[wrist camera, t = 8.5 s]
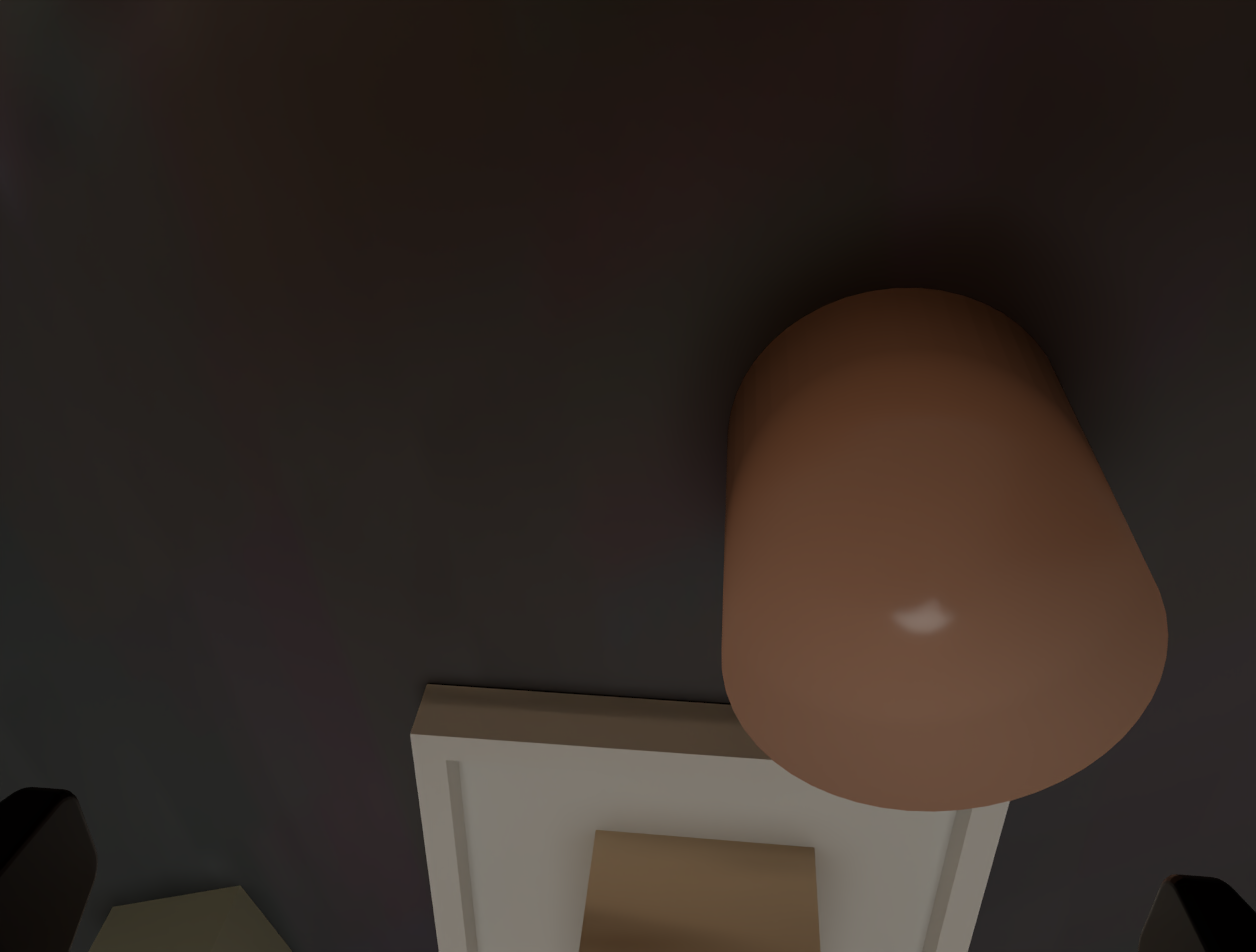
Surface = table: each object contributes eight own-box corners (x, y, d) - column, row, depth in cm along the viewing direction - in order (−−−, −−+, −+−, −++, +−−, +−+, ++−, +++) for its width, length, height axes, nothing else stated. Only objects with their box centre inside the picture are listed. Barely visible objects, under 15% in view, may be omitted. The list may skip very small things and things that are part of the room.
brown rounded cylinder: (1099, 295, 19) (1225, 498, 14) (1027, 579, 22) (1108, 825, 17) (737, 279, 20) (735, 470, 15) (719, 561, 23) (711, 796, 18)
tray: (1002, 723, 24) (1016, 777, 23) (916, 1052, 31) (923, 1108, 30) (426, 683, 25) (410, 733, 24) (465, 1013, 32) (453, 1065, 31)
